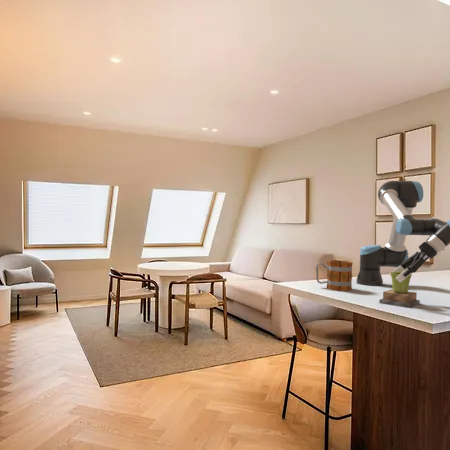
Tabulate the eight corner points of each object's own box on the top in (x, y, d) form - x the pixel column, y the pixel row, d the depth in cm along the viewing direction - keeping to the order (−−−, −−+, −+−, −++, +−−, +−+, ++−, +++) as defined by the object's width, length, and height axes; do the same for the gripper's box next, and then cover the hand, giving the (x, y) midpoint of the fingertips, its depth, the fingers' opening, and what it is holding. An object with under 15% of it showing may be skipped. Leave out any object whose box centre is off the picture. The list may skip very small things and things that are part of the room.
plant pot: (385, 290, 181) (385, 271, 181) (404, 290, 182) (405, 272, 182) (395, 293, 172) (396, 274, 172) (415, 294, 173) (416, 275, 173)
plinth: (379, 302, 177) (379, 292, 177) (390, 299, 187) (391, 288, 187) (409, 307, 168) (409, 296, 168) (419, 303, 178) (419, 292, 178)
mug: (351, 287, 218) (351, 261, 218) (352, 291, 205) (353, 263, 205) (315, 285, 223) (316, 259, 223) (314, 289, 210) (315, 261, 210)
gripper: (446, 255, 161) (406, 289, 165) (430, 251, 186) (395, 280, 189) (433, 242, 163) (393, 276, 166) (418, 240, 187) (384, 269, 190)
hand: (394, 278), depth 178 cm, fingers open, 13 cm apart
